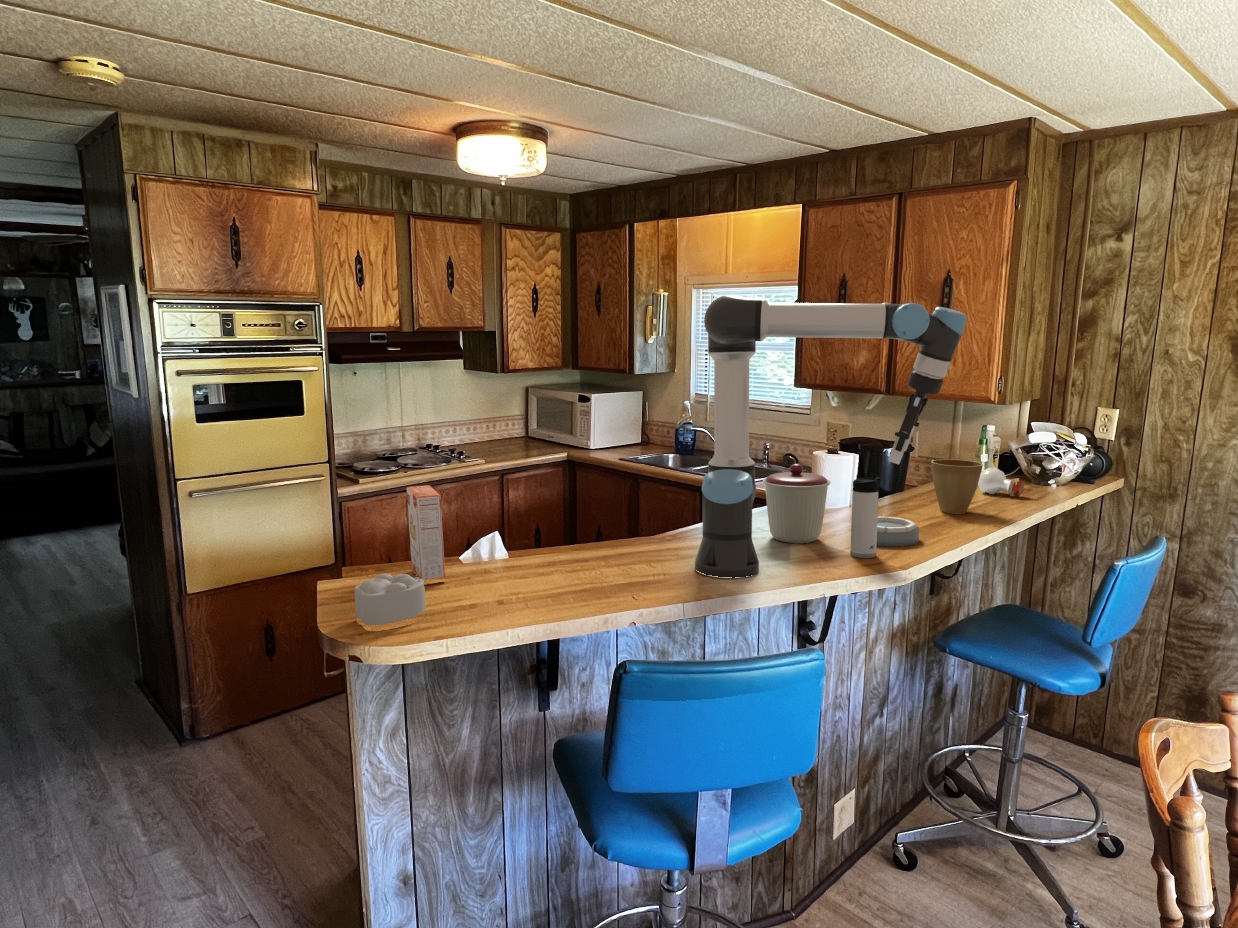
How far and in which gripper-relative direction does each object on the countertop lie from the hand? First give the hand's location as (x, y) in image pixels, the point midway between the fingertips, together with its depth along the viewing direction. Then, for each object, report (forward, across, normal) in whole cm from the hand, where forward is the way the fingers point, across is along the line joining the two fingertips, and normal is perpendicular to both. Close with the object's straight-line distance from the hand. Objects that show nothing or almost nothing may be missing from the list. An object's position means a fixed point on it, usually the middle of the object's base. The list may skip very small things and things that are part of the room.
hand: (897, 455), depth 189 cm
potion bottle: (+28, +97, -34) cm, 106 cm away
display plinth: (+28, +15, -4) cm, 32 cm away
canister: (+34, +5, +17) cm, 38 cm away
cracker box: (+48, -65, +86) cm, 118 cm away
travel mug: (+26, -4, -1) cm, 27 cm away
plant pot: (+28, +60, -20) cm, 69 cm away
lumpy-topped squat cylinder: (+41, -90, +74) cm, 124 cm away
